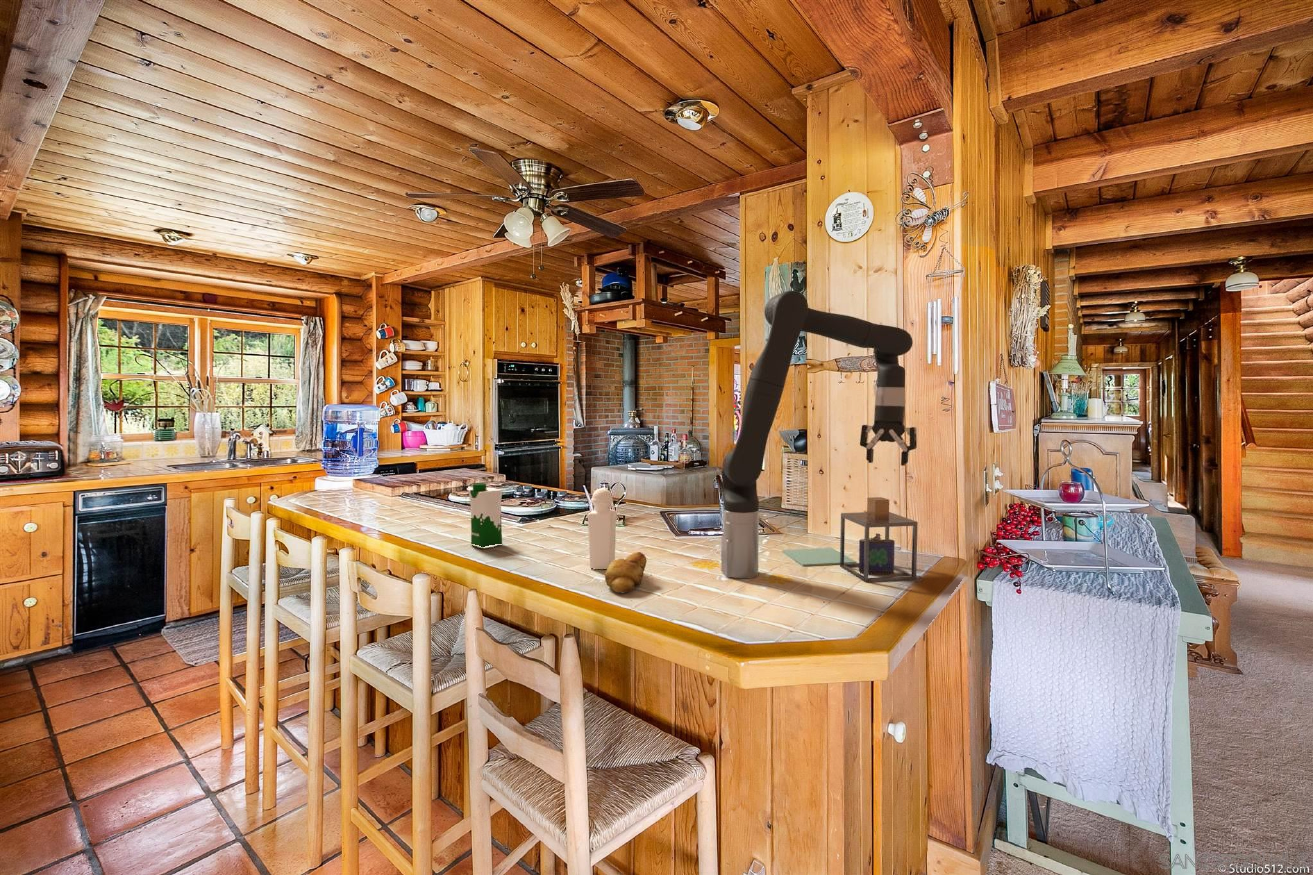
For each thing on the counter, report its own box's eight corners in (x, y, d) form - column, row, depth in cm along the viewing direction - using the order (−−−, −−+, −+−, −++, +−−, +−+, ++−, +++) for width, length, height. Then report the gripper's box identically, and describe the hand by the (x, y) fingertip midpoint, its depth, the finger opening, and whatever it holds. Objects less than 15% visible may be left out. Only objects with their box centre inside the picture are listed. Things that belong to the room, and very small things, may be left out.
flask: (892, 571, 159) (893, 532, 158) (896, 574, 156) (897, 534, 155) (857, 571, 159) (858, 532, 158) (860, 574, 156) (861, 534, 155)
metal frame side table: (865, 582, 149) (866, 504, 148) (839, 566, 163) (841, 495, 162) (916, 579, 151) (918, 502, 150) (886, 564, 165) (888, 493, 164)
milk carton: (467, 545, 187) (465, 483, 186) (492, 540, 194) (491, 480, 193) (481, 550, 181) (479, 486, 180) (506, 545, 188) (505, 483, 187)
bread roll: (634, 597, 139) (634, 564, 138) (595, 594, 141) (595, 561, 140) (648, 581, 151) (648, 550, 151) (612, 578, 154) (612, 548, 153)
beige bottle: (616, 564, 166) (616, 486, 165) (611, 571, 160) (610, 490, 158) (594, 563, 167) (593, 486, 166) (587, 569, 161) (587, 489, 159)
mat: (802, 566, 164) (802, 564, 164) (782, 551, 179) (782, 549, 179) (856, 563, 166) (856, 561, 166) (831, 549, 182) (831, 547, 182)
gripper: (858, 403, 160) (856, 462, 162) (914, 405, 152) (911, 467, 153) (867, 403, 167) (864, 460, 168) (921, 405, 158) (917, 465, 159)
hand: (886, 464), depth 160 cm, fingers open, 8 cm apart
